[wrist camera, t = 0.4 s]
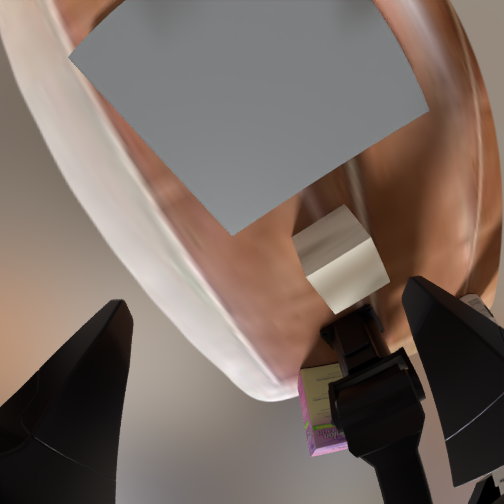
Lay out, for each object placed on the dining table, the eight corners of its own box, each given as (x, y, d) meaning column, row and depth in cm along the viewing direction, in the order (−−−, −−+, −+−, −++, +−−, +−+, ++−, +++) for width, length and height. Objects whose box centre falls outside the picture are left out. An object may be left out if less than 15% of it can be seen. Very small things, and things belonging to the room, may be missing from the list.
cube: (365, 245, 23) (390, 281, 19) (318, 273, 24) (335, 314, 20) (343, 203, 20) (370, 237, 16) (291, 236, 22) (305, 277, 18)
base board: (405, 104, 16) (429, 110, 13) (231, 215, 20) (232, 236, 18) (283, -66, 8) (292, -84, 5) (89, 58, 12) (67, 57, 10)
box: (296, 386, 37) (310, 458, 27) (299, 368, 34) (315, 449, 24) (360, 373, 37) (382, 439, 28) (370, 354, 34) (397, 426, 24)
